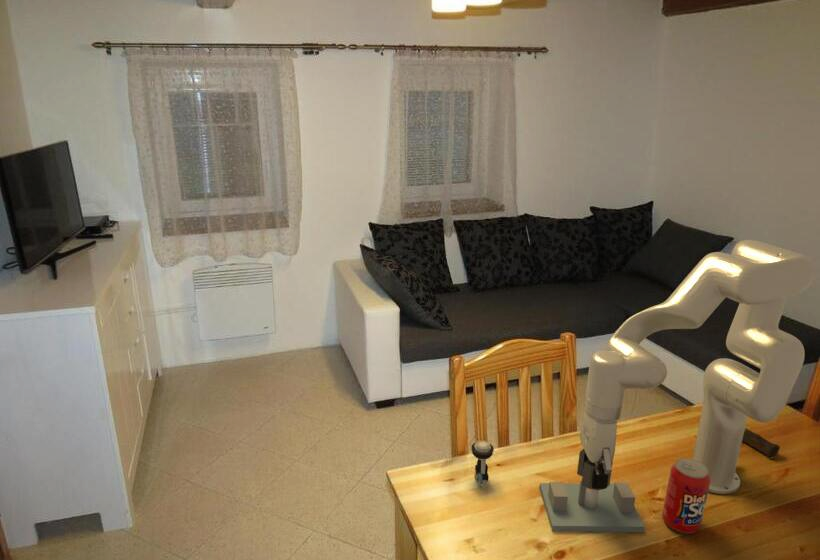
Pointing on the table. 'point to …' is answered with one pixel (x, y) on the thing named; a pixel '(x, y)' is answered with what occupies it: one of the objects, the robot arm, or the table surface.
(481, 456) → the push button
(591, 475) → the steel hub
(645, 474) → the table surface
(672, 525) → the soda can
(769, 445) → the dark brown bar
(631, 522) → the shaft stand
